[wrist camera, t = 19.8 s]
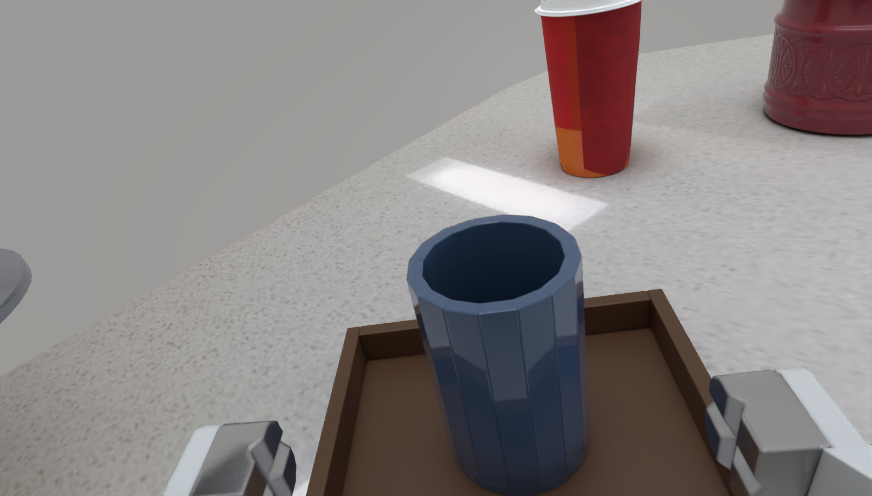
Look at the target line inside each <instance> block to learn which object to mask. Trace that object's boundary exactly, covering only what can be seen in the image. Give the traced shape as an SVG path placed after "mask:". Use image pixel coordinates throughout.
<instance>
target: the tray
mask: <svg viewBox="0 0 872 496" xmlns="http://www.w3.org/2000/svg"><path fill="white" fill-rule="evenodd" d="M584 315H585V338H586V361H587V383H588V406H589V442H588V449H587V452H586V455H585V458H584V460H583V462H582V464H581V465H580V467H579V468H578V469H577V471H576V472H575V473H574V474H573V475H572V476H571V477H570V478H569V479H568V480H566V481H565V482H564V483H563V484H561V485H559V486H557V487H556V488H554V489H551V490H549V491H547V492H544V493H540V494H536V495H530V496H734V495H733V493H732V491H731V489H730V487H729V485H728V481H729V475H730V470H729V469H728V468H727V467H725V466H724V465H722V464H721V463H720V462H718V461H717V460H716V457H715V455H714V453H713V451H712V449H711V446H710V443H709V440H708V437H707V432H706V425H705V414H706V407H708V406H709V405H710V404H711V403H712V402H713V401H714V400H713V398H712V396H711V395H710V393H709V385H710V381H711V377H710V375H709V374H708V372H707V370H706V368H705V366H704V365H703V363H702V361H701V359H700V357H699V356H698V354H697V352H696V350H695V348H694V347H693V345H692V343H691V341H690V339H689V338H688V336H687V334H686V332H685V330H684V329H683V327H682V325H681V323H680V321H679V320H678V318H677V316H676V314H675V312H674V310H673V309H672V307H671V305H670V303H669V301H668V300H667V298H666V296H665V294H664V292H663V291H662V289H656V290H648V291H640V292H632V293H624V294H616V295H608V296H600V297H592V298H584ZM306 496H507V495H502V494H497V493H494V492H491V491H489V490H486V489H484V488H482V487H480V486H479V485H477V484H476V483H474V482H473V481H471V480H470V479H469V478H468V477H467V476H466V475H465V474H464V473H463V472H462V470H461V469H460V468H459V466H458V465H457V463H456V461H455V459H454V456H453V453H452V450H451V447H450V445H449V442H448V439H447V435H446V431H445V427H444V423H443V419H442V415H441V412H440V408H439V404H438V400H437V396H436V392H435V388H434V384H433V380H432V376H431V373H430V369H429V365H428V361H427V357H426V353H425V349H424V345H423V341H422V337H421V334H420V330H419V326H418V322H417V319H416V320H408V321H400V322H392V323H384V324H376V325H368V326H361V327H353V328H348V329H347V333H346V337H345V341H344V345H343V349H342V353H341V357H340V361H339V365H338V369H337V373H336V377H335V381H334V385H333V389H332V393H331V397H330V401H329V405H328V409H327V413H326V417H325V421H324V425H323V429H322V433H321V437H320V441H319V445H318V449H317V454H316V458H315V462H314V466H313V470H312V474H311V478H310V482H309V486H308V490H307V494H306Z"/></svg>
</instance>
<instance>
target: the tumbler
mask: <svg viewBox="0 0 872 496" xmlns="http://www.w3.org/2000/svg"><path fill="white" fill-rule="evenodd" d="M407 283H408V287H409V291H410V295H411V298H412V302H413V306H414V310H415V314H416V318H417V322H418V326H419V330H420V334H421V337H422V341H423V345H424V349H425V353H426V357H427V361H428V365H429V369H430V373H431V376H432V380H433V384H434V388H435V392H436V396H437V400H438V404H439V408H440V412H441V415H442V419H443V423H444V427H445V431H446V435H447V439H448V442H449V445H450V447H451V450H452V453H453V456H454V459H455V461H456V463H457V465H458V466H459V468H460V469H461V470H462V472H463V473H464V474H465V475H466V476H467V477H468V478H469V479H470V480H471V481H473V482H474V483H476V484H477V485H479V486H480V487H482V488H484V489H486V490H489V491H491V492H494V493H497V494H502V495H507V496H530V495H536V494H540V493H544V492H547V491H549V490H551V489H554V488H556V487H557V486H559V485H561V484H563V483H564V482H565V481H566V480H568V479H569V478H570V477H571V476H572V475H573V474H574V473H575V472H576V471H577V469H578V468H579V467H580V465H581V464H582V462H583V460H584V458H585V455H586V452H587V449H588V442H589V406H588V383H587V361H586V338H585V315H584V292H583V270H582V255H581V252H580V249H579V247H578V244H577V241H576V239H575V238H574V237H573V236H572V235H571V234H569V233H568V232H567V231H565V230H564V229H563V228H561V227H560V226H559V225H557V224H555V223H552V222H549V221H546V220H542V219H539V218H536V217H531V216H521V215H496V216H489V217H482V218H475V219H471V220H468V221H465V222H462V223H459V224H456V225H454V226H451V227H448V228H446V229H443V230H442V231H440V232H438V233H437V234H435V235H434V236H432V237H431V238H429V239H428V240H426V241H424V242H423V243H422V244H421V245H420V247H419V248H418V249H417V250H416V252H415V253H414V254H413V256H412V257H411V258H410V260H409V263H408V271H407Z"/></svg>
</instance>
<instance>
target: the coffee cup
mask: <svg viewBox="0 0 872 496" xmlns="http://www.w3.org/2000/svg"><path fill="white" fill-rule="evenodd" d="M641 3H642V0H540V6H538V8H537V9H535V12H536V13H537V14H538V15H541V19H542V28H543V35H544V43H545V51H546V59H547V66H548V75H549V83H550V91H551V98H552V106H553V114H554V122H555V129H556V136H557V144H558V151H559V157H560V163H561V167H562V169H563V170H564V171H565V172H566V173H568V174H570V175H573V176H578V177H602V176H607V175H611V174H614V173H617V172H619V171H621V170H623V169H624V168H625V167H626V166H627V165H628V162H629V156H630V146H631V135H632V123H633V110H634V97H635V84H636V73H637V62H638V51H639V40H640V21H641Z"/></svg>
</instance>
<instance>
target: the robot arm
mask: <svg viewBox="0 0 872 496" xmlns="http://www.w3.org/2000/svg"><path fill="white" fill-rule="evenodd" d="M709 393H710V395H711V396H712V398H713V400H714V401H713V402H712V403H711V404H710V405H709V406H708V407H706V414H705V425H706V432H707V437H708V440H709V443H710V446H711V449H712V451H713V453H714V455H715V457H716V460H717V461H718V462H720V463H721V464H722V465H724V466H725V467H727V468H728V469H729V470H730V475H729V481H728V485H729V487H730V489H731V491H732V493H733V495H734V496H872V444H871V445H870V444H869V443H868V442H867V441H866V439H865V438H864V437H863V436H862V434H861V433H860V432H859V430H858V429H857V428H856V427H855V425H854V424H853V423H852V422H851V420H850V419H849V418H848V416H847V415H846V414H845V413H844V411H843V410H842V409H841V408H840V406H839V405H838V404H837V403H836V401H835V400H834V399H833V397H832V396H831V395H830V394H829V392H828V391H827V390H826V389H825V387H824V386H823V385H822V383H821V382H820V381H819V380H818V378H817V377H816V376H815V375H814V373H813V372H812V371H811V370H809V369H808V368H806V367H795V368H786V369H776V370H763V371H754V372H745V373H736V374H727V375H718V376H713V378H712V379H711V381H710V385H709ZM282 433H283V431H282V429H281V428H280V426H279V424H278V422H277V421H260V422H246V423H232V424H221V425H209V426H200V427H199V428H198V429H197V430H196V431H194V432H193V434H192V436H191V438H190V440H189V442H188V444H187V446H186V448H185V450H184V452H183V454H182V456H181V458H180V460H179V462H178V464H177V466H176V468H175V470H174V472H173V474H172V476H171V478H170V480H169V482H168V485H167V487H166V489H165V491H164V493H163V495H162V496H292V494H293V490H294V486H295V482H296V462H295V457H294V454H293V452H292V450H291V447H290V446H288V445H287V444H285V443H283V442H282V441H280V440H281V436H282Z"/></svg>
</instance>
